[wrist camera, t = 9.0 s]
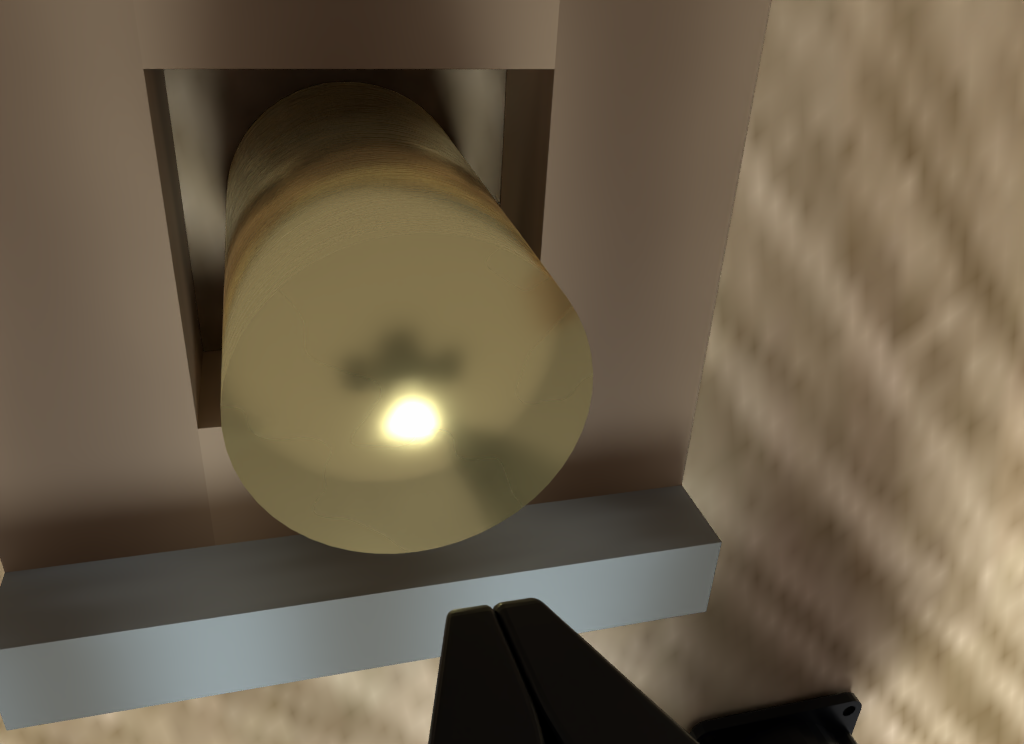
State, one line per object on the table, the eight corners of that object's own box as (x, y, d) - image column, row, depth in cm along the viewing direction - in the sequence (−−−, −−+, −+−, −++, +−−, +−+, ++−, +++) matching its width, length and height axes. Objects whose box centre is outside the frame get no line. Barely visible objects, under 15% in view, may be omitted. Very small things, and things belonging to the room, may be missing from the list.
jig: (709, -117, 17) (865, -106, 12) (623, 477, 24) (706, 611, 19) (-141, -168, 13) (-315, -176, 9) (54, 548, 20) (6, 730, 16)
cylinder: (467, 81, 17) (611, 224, 11) (462, 301, 20) (576, 530, 13) (213, 81, 16) (196, 242, 9) (239, 316, 19) (241, 575, 12)
